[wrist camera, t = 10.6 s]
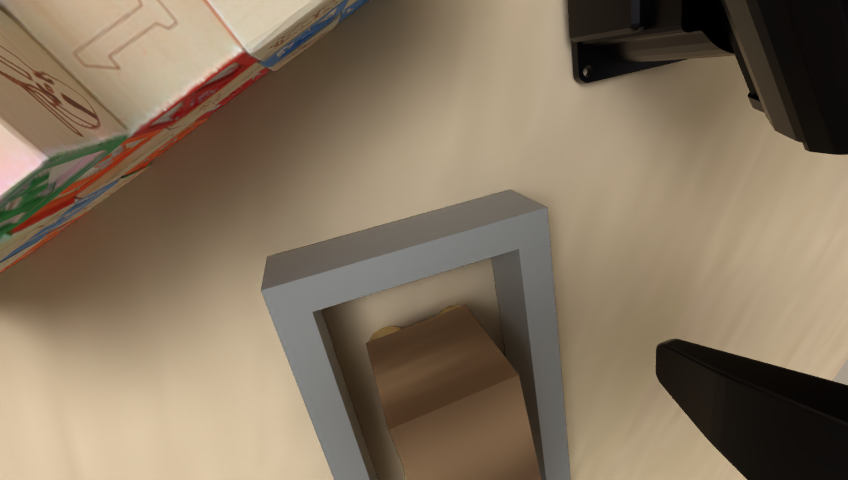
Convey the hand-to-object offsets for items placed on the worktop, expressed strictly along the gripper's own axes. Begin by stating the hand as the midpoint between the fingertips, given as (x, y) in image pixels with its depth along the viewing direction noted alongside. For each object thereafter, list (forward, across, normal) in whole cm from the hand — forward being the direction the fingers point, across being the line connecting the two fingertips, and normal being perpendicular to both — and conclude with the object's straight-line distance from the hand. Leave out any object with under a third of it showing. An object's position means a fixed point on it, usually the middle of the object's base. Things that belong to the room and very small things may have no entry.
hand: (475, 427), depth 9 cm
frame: (+12, -1, +10) cm, 16 cm away
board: (+10, -1, +10) cm, 14 cm away
